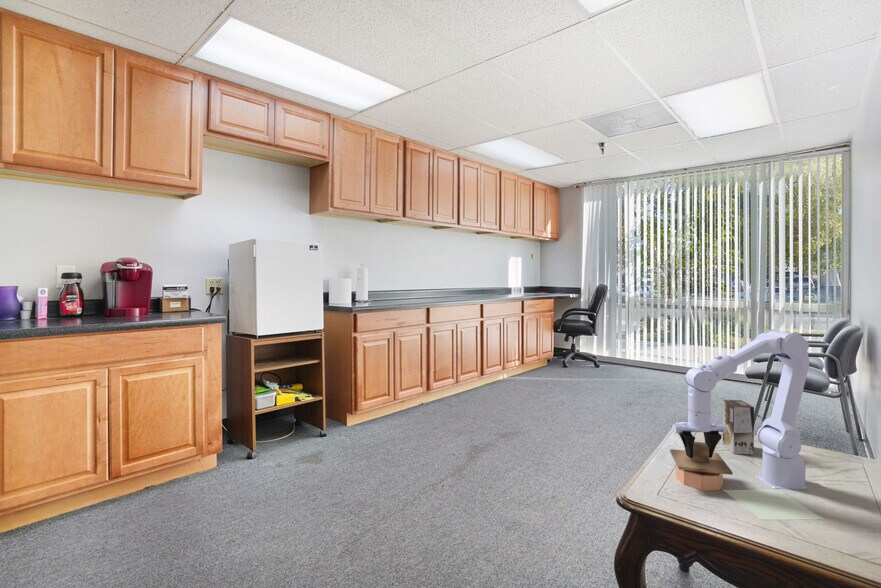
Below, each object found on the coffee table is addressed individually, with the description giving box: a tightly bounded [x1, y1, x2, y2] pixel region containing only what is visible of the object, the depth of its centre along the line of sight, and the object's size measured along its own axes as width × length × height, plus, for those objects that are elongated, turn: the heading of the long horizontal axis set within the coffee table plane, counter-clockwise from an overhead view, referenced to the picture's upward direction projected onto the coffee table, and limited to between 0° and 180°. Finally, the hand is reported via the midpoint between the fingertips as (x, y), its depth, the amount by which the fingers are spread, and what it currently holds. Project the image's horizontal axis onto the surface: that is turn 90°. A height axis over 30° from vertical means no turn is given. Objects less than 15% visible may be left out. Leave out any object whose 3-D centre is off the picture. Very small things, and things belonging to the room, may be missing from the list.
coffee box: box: [722, 399, 755, 456], centre depth 151 cm, size 9×6×16 cm
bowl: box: [675, 463, 724, 491], centre depth 128 cm, size 11×11×4 cm
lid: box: [669, 441, 734, 476], centre depth 127 cm, size 13×13×5 cm
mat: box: [722, 489, 824, 521], centre depth 114 cm, size 15×15×1 cm
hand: (699, 456), depth 127 cm, fingers closed on lid, 5 cm apart
